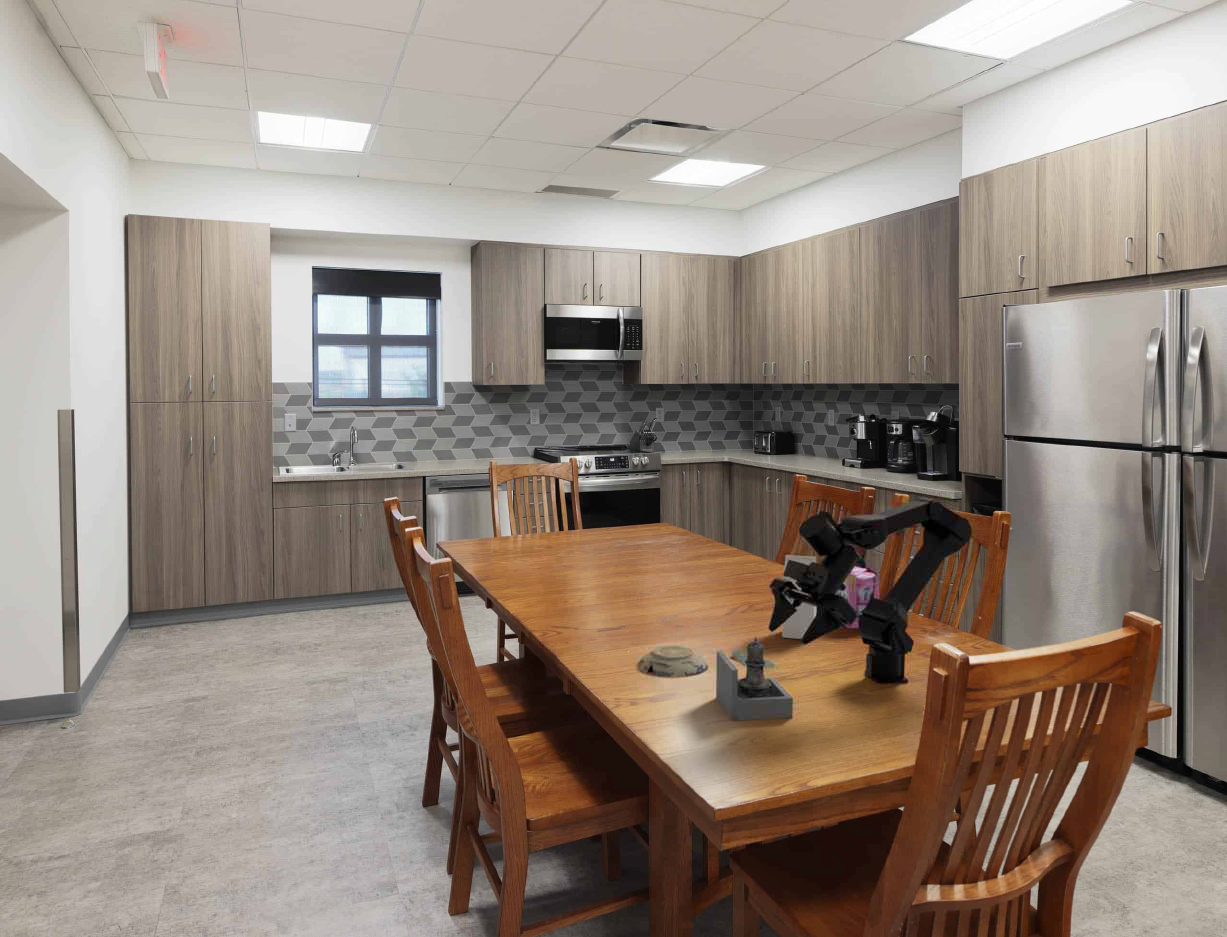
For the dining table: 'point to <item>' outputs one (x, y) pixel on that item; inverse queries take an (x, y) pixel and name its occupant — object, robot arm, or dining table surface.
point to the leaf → (742, 657)
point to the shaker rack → (749, 708)
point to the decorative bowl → (673, 662)
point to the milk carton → (805, 612)
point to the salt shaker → (755, 673)
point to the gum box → (860, 590)
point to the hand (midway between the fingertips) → (786, 636)
